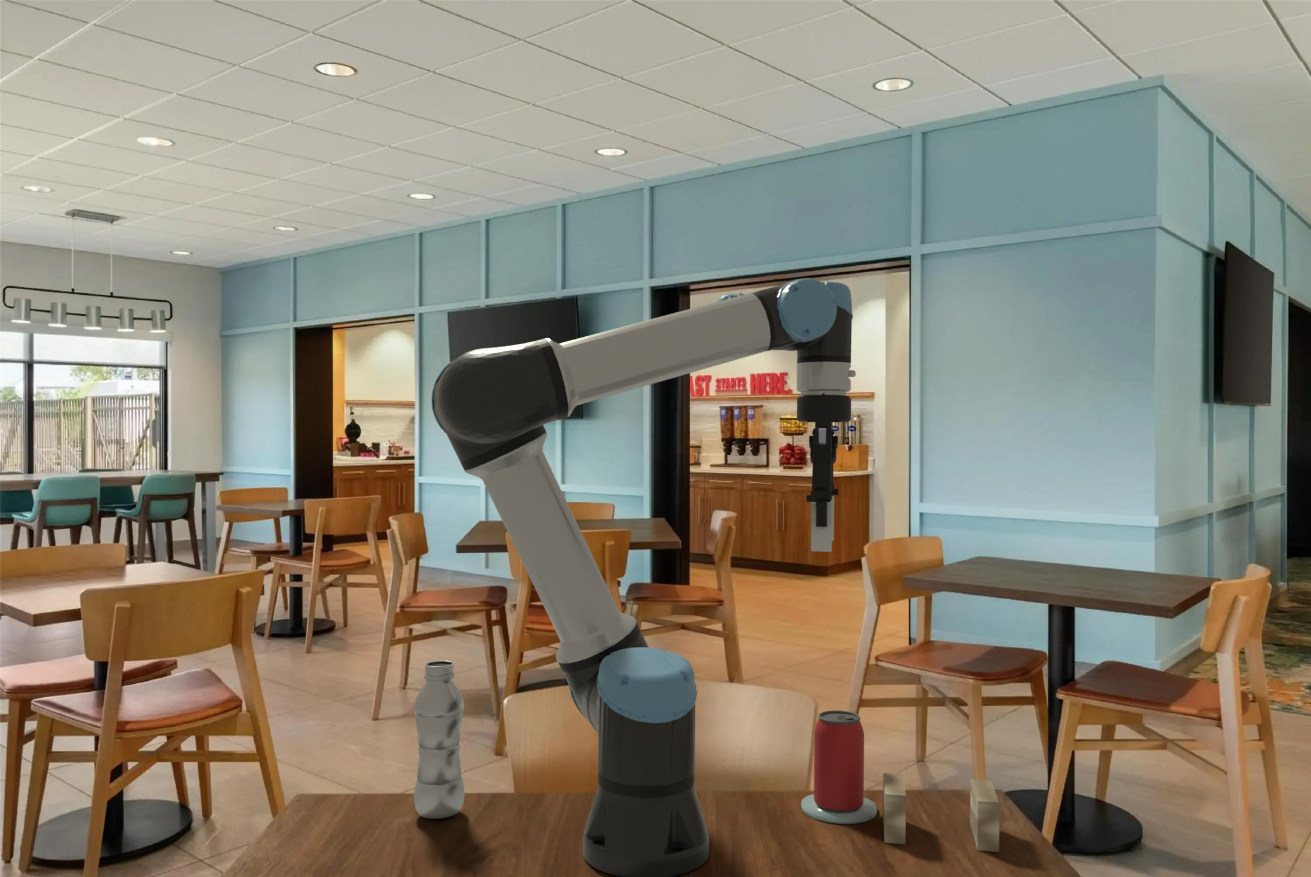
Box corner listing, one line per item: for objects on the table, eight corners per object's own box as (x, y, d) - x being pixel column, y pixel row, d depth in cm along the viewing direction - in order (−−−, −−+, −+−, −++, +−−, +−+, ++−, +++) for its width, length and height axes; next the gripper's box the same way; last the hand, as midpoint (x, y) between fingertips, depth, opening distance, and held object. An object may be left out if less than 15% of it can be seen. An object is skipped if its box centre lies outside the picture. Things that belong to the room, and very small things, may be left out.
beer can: (863, 816, 133) (864, 724, 133) (812, 812, 134) (813, 721, 134) (863, 798, 139) (864, 710, 139) (814, 794, 141) (815, 707, 140)
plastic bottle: (475, 812, 135) (475, 661, 135) (438, 829, 129) (439, 671, 129) (439, 802, 138) (440, 655, 138) (402, 818, 133) (403, 665, 133)
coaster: (799, 820, 133) (799, 816, 133) (802, 794, 142) (803, 789, 142) (877, 826, 131) (877, 822, 131) (876, 799, 141) (876, 794, 141)
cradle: (884, 842, 126) (884, 794, 126) (882, 818, 134) (883, 773, 134) (998, 852, 123) (999, 802, 123) (990, 826, 131) (990, 780, 131)
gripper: (850, 390, 130) (849, 557, 130) (851, 397, 154) (850, 537, 154) (791, 390, 131) (790, 555, 131) (801, 397, 156) (800, 536, 156)
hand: (822, 546), depth 143 cm, fingers open, 13 cm apart
